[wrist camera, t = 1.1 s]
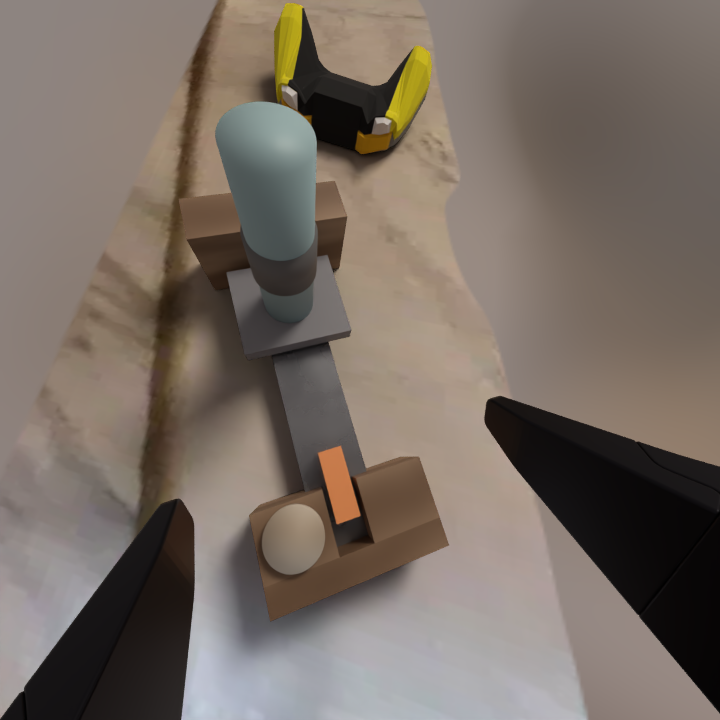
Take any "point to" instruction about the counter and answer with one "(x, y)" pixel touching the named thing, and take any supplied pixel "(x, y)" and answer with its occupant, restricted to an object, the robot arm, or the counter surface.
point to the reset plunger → (338, 485)
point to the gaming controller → (345, 90)
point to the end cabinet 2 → (354, 559)
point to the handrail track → (319, 423)
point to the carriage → (278, 232)
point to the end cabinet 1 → (223, 240)
